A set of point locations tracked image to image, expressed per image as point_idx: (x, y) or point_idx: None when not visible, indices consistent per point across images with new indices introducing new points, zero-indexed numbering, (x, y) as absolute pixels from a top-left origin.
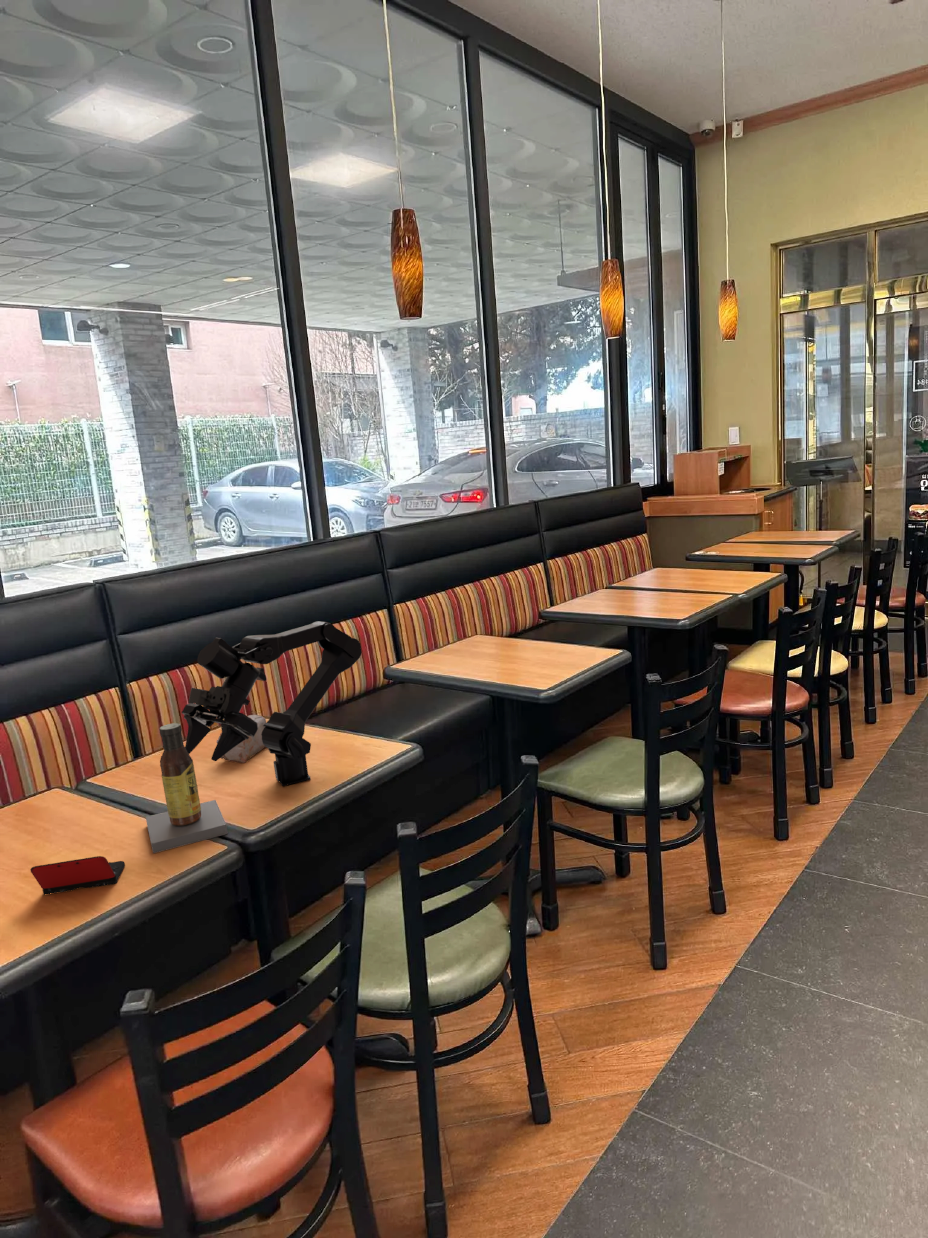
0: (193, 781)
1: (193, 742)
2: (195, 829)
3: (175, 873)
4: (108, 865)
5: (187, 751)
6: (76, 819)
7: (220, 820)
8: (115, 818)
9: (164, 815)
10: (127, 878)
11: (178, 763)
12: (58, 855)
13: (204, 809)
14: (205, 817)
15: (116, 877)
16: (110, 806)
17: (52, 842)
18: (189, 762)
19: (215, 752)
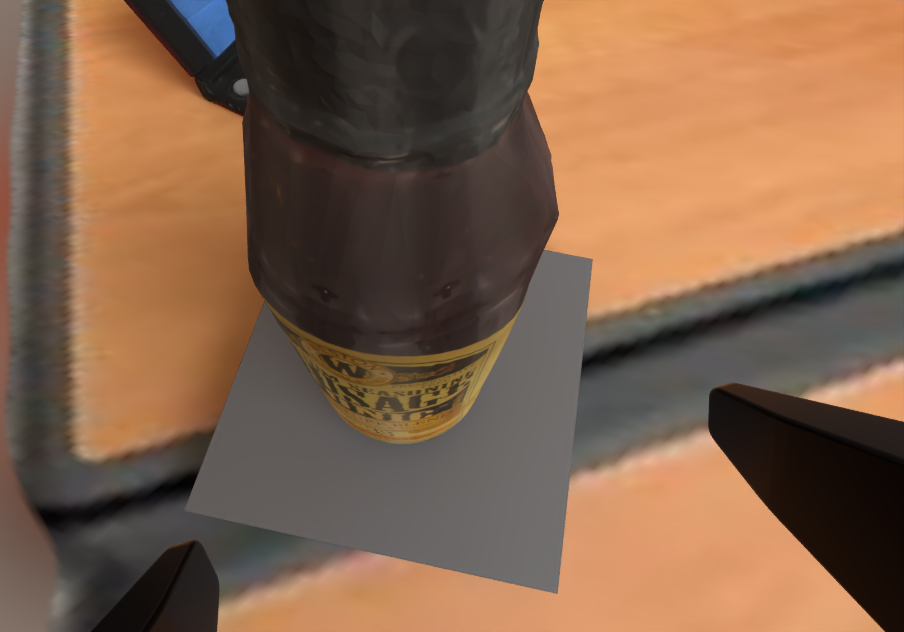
0: (301, 358)
1: (844, 516)
2: (270, 372)
3: (85, 235)
4: (132, 9)
5: (722, 414)
6: (823, 125)
7: (257, 505)
8: (745, 216)
9: (546, 320)
10: (208, 127)
11: (246, 159)
12: (552, 39)
13: (468, 491)
14: (361, 457)
15: (202, 88)
16: (888, 232)
17: (667, 46)
18: (261, 282)
19: (109, 620)
